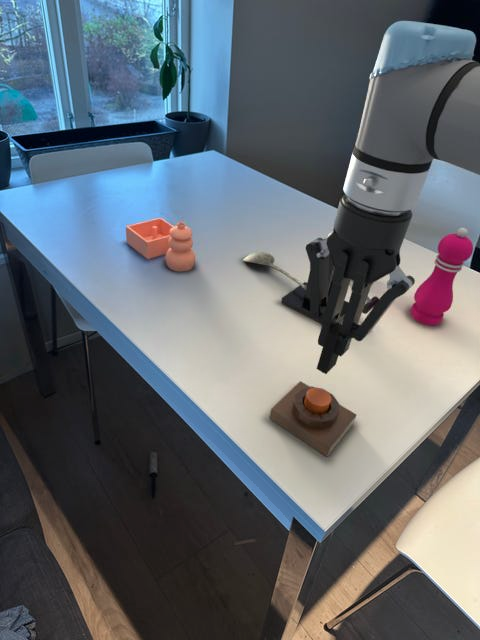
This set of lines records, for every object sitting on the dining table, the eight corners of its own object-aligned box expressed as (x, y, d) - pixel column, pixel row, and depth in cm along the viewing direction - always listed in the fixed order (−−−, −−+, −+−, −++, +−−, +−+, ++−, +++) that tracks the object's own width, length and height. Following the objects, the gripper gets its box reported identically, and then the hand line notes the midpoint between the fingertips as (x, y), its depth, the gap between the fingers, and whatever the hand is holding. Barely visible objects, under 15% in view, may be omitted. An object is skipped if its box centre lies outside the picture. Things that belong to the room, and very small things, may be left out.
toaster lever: (373, 305, 86) (382, 299, 84) (362, 316, 83) (371, 310, 81) (327, 248, 87) (335, 241, 85) (314, 257, 84) (322, 249, 82)
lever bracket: (353, 310, 92) (371, 250, 84) (331, 329, 86) (349, 267, 78) (303, 286, 97) (317, 228, 89) (280, 302, 91) (292, 242, 83)
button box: (353, 424, 67) (360, 406, 65) (327, 457, 62) (333, 439, 60) (297, 390, 72) (302, 372, 69) (269, 418, 67) (273, 400, 64)
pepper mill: (410, 323, 90) (447, 233, 78) (405, 303, 96) (440, 217, 84) (446, 330, 90) (490, 240, 78) (439, 309, 95) (479, 223, 83)
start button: (333, 404, 65) (335, 396, 64) (320, 418, 63) (323, 410, 62) (312, 391, 67) (314, 383, 66) (299, 405, 64) (301, 396, 63)
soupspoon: (260, 256, 107) (237, 264, 104) (260, 243, 105) (237, 251, 102) (324, 294, 92) (300, 304, 89) (326, 279, 90) (301, 289, 87)
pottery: (126, 242, 105) (124, 202, 99) (160, 233, 110) (160, 195, 104) (170, 277, 95) (170, 235, 89) (205, 265, 100) (208, 224, 94)
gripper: (305, 189, 47) (271, 356, 61) (425, 235, 41) (356, 407, 55) (339, 174, 52) (300, 332, 66) (450, 213, 46) (381, 376, 60)
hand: (326, 366), depth 60 cm, fingers closed
